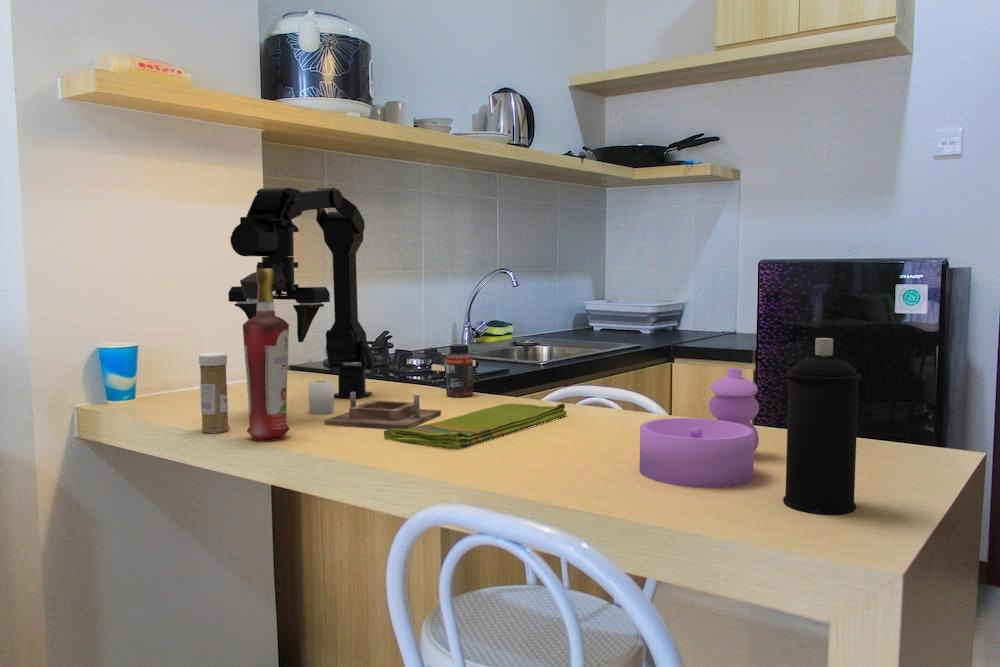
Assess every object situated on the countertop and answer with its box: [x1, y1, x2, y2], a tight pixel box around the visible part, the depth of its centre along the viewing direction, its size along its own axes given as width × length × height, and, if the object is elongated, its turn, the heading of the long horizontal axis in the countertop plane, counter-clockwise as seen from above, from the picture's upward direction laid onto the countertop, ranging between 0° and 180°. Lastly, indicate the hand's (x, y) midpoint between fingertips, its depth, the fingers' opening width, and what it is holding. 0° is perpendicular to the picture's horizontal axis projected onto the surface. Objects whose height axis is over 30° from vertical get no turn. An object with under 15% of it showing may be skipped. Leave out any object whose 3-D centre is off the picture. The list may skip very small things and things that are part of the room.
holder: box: [324, 392, 442, 430], centre depth 156 cm, size 16×16×5 cm
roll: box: [307, 379, 335, 416], centre depth 163 cm, size 5×5×6 cm
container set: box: [639, 367, 760, 488], centre depth 120 cm, size 25×15×13 cm, turn 143°
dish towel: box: [383, 402, 567, 450], centre depth 149 cm, size 15×36×3 cm, turn 146°
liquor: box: [242, 268, 290, 442], centre depth 138 cm, size 7×7×28 cm
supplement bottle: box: [445, 343, 474, 398], centre depth 184 cm, size 6×6×11 cm
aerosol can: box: [782, 337, 862, 515], centre depth 100 cm, size 8×8×20 cm
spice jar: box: [198, 352, 230, 434], centre depth 145 cm, size 5×5×14 cm
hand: (279, 341), depth 156 cm, fingers open, 9 cm apart
